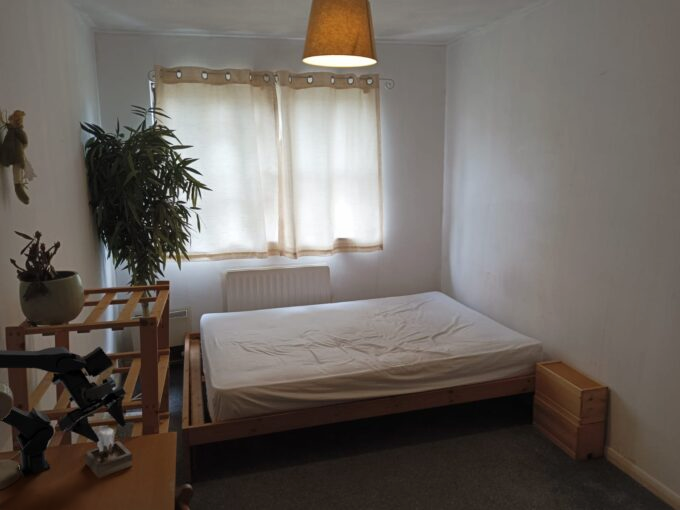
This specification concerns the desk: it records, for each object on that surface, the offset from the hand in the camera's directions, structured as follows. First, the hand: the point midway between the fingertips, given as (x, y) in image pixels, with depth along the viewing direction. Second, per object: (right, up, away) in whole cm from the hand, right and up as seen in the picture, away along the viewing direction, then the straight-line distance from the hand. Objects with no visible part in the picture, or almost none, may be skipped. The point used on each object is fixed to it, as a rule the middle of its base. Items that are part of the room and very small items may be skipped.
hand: (111, 433), depth 144 cm
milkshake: (-2, -8, +2) cm, 8 cm away
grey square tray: (-2, -9, +2) cm, 10 cm away
